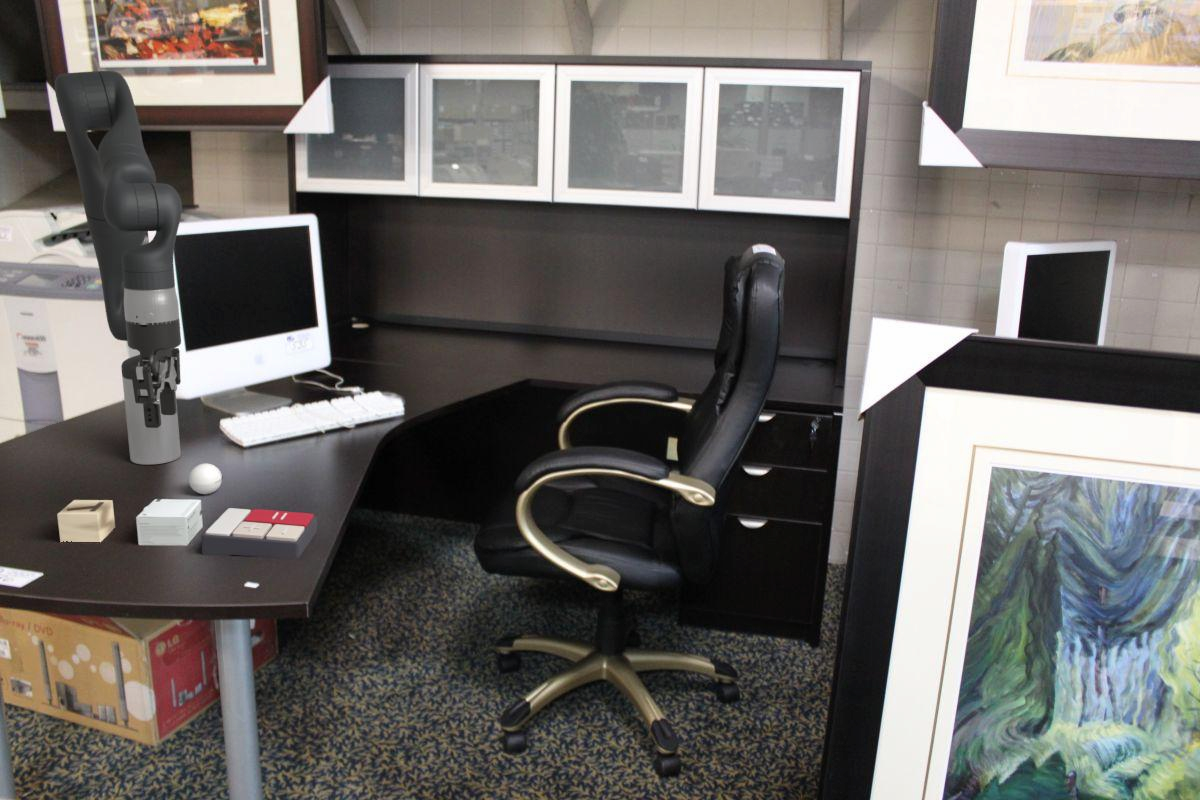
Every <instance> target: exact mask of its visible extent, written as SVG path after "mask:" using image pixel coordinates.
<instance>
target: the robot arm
mask: <svg viewBox="0 0 1200 800" xmlns="http://www.w3.org/2000/svg"><path fill="white" fill-rule="evenodd" d="M54 92H55V98H56V103H57V106H58V109H59V114H60V116H61V120H62V123H63V126H64V131H65V133H66V136H67V140H68V144H69V146H70V150H71V154H72V158H73V161H74V165H75V169H76V173H77V177H78V183H79V187H80V192H81V197H82V202H83V208H84V212H85V217H86V220H87V221H86V222H87V226H88V231H89V233H90V237H91V242H92V245H93V248H94V253H95V256H96V260H97V264H98V269H99V274H100V280H101V288H102V294H103V300H104V302H103V303H104V307H105V314H106V315H105V316H106V320H107V325H108V328H109V332H110V333H111V336H112V337H113V338H114V339H116V340H118V341H123V342H127V343H126V344H127V346H128V347H129V348H130V349H132V350H136V351H138V352H139V354H138V355H134V356H130V357H129V358H126V359H125V360H123V362H122V363H121V366H120V367H121V377H122V389H123V399H124V408H125V420H126V428H127V439H128V450H129V458H130V462H132V463H134V464H137V465H145V466H147V465H159V464H165V463H170V462H174V461H176V460H177V459H179V458H180V457H181V456H182V455H181V445H180V444H181V442H180V430H179V417H178V405H177V393H176V392H177V390H178V385H180V384H181V382H182V381H181V362H180V361H181V360H180V359H181V357H180V355H181V354H180V349H179V348H178V347H179V346H180V345H181V344H182V335H181V326H180V325H181V323H180V322H181V321H180V311H179V301H178V299H179V298H178V295H177V291H176V282H175V280H176V279H175V270H174V269H175V268H174V267H175V266H174V252H175V244H176V239H177V235H178V231H179V227H180V223H181V218H182V212H183V204H182V199H181V197H180V195H179V193H178V191H177V190H176V189H175V188H174V187H173V186H172V185H170V184H168V183H164V182H163V183H162V182H161V183H160V182H159V183H158V182H157V177H156V172H155V170H154V168H153V165H152V163H151V160H150V159H149V156H148V154H147V152H146V149H145V146H144V141H143V137H142V132H141V126H140V122H139V121H140V120H139V118H138V114H137V113H138V112H137V110H136V106H135V103H134V98H133V95H132V92H131V89H130V86H129V85H128V82H127V80H126V79H125V77H124V75H122V74H121V73H120V72H118V71H114V70H96V71H95V70H94V71H79V72H77V71H75V72H66V73H61V74H58V75H57V76H56V78H55V81H54ZM106 129H107V132H106V134H105V135H103V138H102V139H101V141H100V142H99V145H98V150H97V148H96V147H95V146H94V144H93V142H92V141H91V139H90V138H89V136H88V132H90V131H97V130H106ZM147 232H155V234H154V236H153V238H152V239H151V241H150V242H148V243H146V244H144V241H145V238H146V235H147Z"/></svg>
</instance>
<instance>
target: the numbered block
mask: <svg viewBox="0 0 1200 800" xmlns="http://www.w3.org/2000/svg"><path fill="white" fill-rule="evenodd" d="M57 524H58V532H59V541H60V542H59V543H61V542H63V541H64V542H66V541H68V542H71V541H72V542H100V543H101V542H103V541H104V539H105V538H107V537H108V536H109V535H110V534H111V532H113V531H114V530H113V529H114V528H115V529H116V521H115V512H114V502H113V500H110V499H103V500H102V499H100V500H99V499H73V500H72V501H71V502H70V503H69V504H67V505H66V506H65V507H64V508H63V509H61V511H59V512H58V513H57Z"/></svg>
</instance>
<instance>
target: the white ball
mask: <svg viewBox="0 0 1200 800" xmlns="http://www.w3.org/2000/svg"><path fill="white" fill-rule="evenodd" d="M222 479H223V475H222V472H221V471H220V469H219V468H218V467H217V466H215V465H214V464H212V463H205V462H204V463H200V464H198V465H195V466H194V468H193V469H191V471H190V473H189V477H188V483H189V487H190V488H191V489H192V490H193V491H194V492H196V493H197V494H200V495H210V494H212V493H214V492H216V491H217V490H218V489H219V488H220V487H221V484H222V481H223V480H222Z"/></svg>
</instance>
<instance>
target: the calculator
mask: <svg viewBox="0 0 1200 800" xmlns="http://www.w3.org/2000/svg"><path fill="white" fill-rule="evenodd" d="M317 531H318V516H316V515H314V513H308V512H307V513H306V512H297V511H295V512H293V511H283V510H282V511H281V510H273V509H271V510H270V509H258V508H254V509H252V510H251V509H247V508H237V507H236V508H235V507H234V508H233V507H229V508H227V509H226V510H224V512H222V513H221V514H220V516H218V517H217V519H215V520H214V521H213V523H212V524H211V525H210V526H208V528H207V529H206V530H205V531H204V532H203V533H202V534H201V555H203V556H221V557H230V556H240V557H241V556H242V557H255V558H256V557H257V558H276V559H279V558H281V559H298V558H300V556H301V555H302V553H303V552H304V551H305V550H306V548H307V546H308V545H309V543H310V542H311V541H312V540H313V538H314V536H315V535H316V533H317Z"/></svg>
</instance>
